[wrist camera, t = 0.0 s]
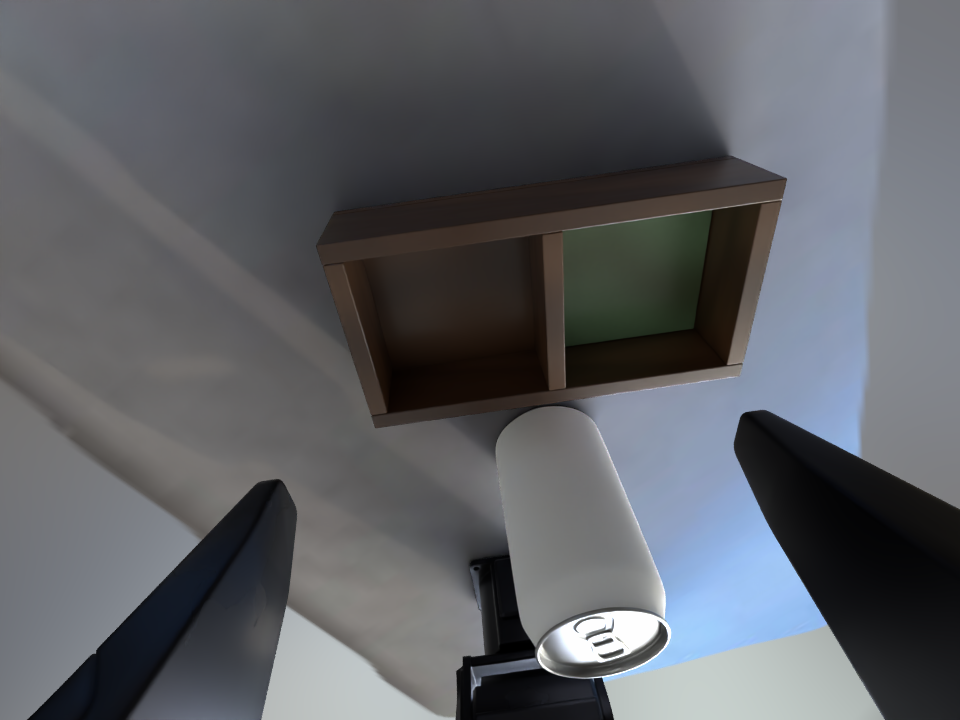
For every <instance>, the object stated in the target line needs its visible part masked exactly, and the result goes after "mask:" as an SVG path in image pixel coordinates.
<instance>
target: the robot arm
mask: <svg viewBox="0 0 960 720" xmlns="http://www.w3.org/2000/svg"><path fill="white" fill-rule="evenodd" d="M734 451H735V454H736V457H737V459H738V461H739V463H740V465H741V467H742V470H743V472H744V474H745V476H746V478H747V480H748V483H749V485H750V487H751V489H752V491H753V493H754V496H755V498H756V500H757V502H758V504H759V506H760V509H761V511H762V513H763V515H764V517H765V519H766V521H767V523H768V525H769V527H770V528H771V530H772V532H773V534H774V536H775V537H776V539H777V541H778V542H779V544H780V546H781V547H782V549H783V551H784V552H785V554H786V556H787V557H788V559H789V561H790V562H791V564H792V566H793V567H794V569H795V571H796V572H797V574H798V576H799V577H800V579H801V581H802V582H803V584H804V586H805V587H806V589H807V591H808V592H809V594H810V596H811V597H812V599H813V601H814V602H815V604H816V606H817V607H818V609H819V611H820V612H821V614H822V616H823V617H824V619H825V621H826V622H827V624H828V626H829V627H830V629H831V631H832V632H833V634H834V636H835V637H836V639H837V641H838V642H839V644H840V646H841V647H842V649H843V651H844V652H845V654H846V656H847V657H848V659H849V661H850V662H851V664H852V666H853V668H854V669H855V671H856V673H857V674H858V676H859V678H860V679H861V681H862V682H863V684H864V686H865V687H866V689H867V691H868V692H869V694H870V696H871V698H872V699H873V701H874V702H875V704H876V706H877V708H878V709H879V711H880V713H881V714H882V716H883V717H884V719H885V720H960V509H958V508H956V507H954V506H952V505H950V504H948V503H946V502H944V501H942V500H941V499H939V498H936V497H935V496H933V495H931V494H929V493H927V492H925V491H923V490H921V489H919V488H917V487H915V486H913V485H911V484H909V483H907V482H905V481H904V480H901V479H900V478H898V477H896V476H894V475H892V474H890V473H888V472H886V471H884V470H882V469H880V468H878V467H876V466H874V465H872V464H870V463H868V462H867V461H865V460H863V459H861V458H859V457H857V456H855V455H853V454H851V453H849V452H847V451H845V450H843V449H841V448H839V447H837V446H835V445H833V444H831V443H829V442H828V441H826V440H824V439H822V438H820V437H818V436H816V435H814V434H812V433H810V432H808V431H806V430H804V429H802V428H800V427H798V426H796V425H794V424H792V423H790V422H789V421H787V420H785V419H783V418H781V417H779V416H777V415H775V414H773V413H771V412H769V411H766V410H758V411H751V412H745V413H743V414H742V416H741V417H740V420H739V424H738V428H737V432H736V436H735V440H734ZM296 521H297V510H296V506H295V504H294V502H293V500H292V498H291V496H290V494H289V492H288V490H287V488H286V486H285V484H284V483H283V482H282V481H281V480H280V479H274V480H267V481H261V482H259V483H257V484H256V485H255V486H254V487H253V488H252V489H251V490H250V491H249V492H248V493H247V494H246V495H245V496H244V497H243V498H242V499H241V500H240V501H239V502H238V503H237V504H236V505H235V506H234V507H233V509H232V510H231V511H230V512H229V513H228V514H227V515H226V516H225V517H224V518H223V519H222V520H221V521H220V522H219V523H218V524H217V525H216V526H215V527H214V528H213V529H212V530H211V531H210V532H209V533H208V534H207V536H206V537H205V538H204V539H203V540H202V541H201V542H200V543H199V544H198V545H197V546H196V547H195V548H194V549H193V550H192V551H191V552H190V553H189V554H188V555H187V556H186V557H185V559H183V561H181V563H180V564H179V565H178V566H177V567H176V568H175V569H174V570H173V571H172V572H171V573H170V574H169V575H168V576H167V577H166V578H165V579H164V580H163V581H162V582H161V583H160V584H159V586H157V587H156V589H155V590H154V591H153V592H152V593H151V594H150V595H149V596H148V597H147V598H146V599H145V600H144V601H143V602H142V603H141V604H140V605H139V606H138V607H137V608H136V609H135V610H134V611H133V612H132V613H131V614H130V616H128V617H127V619H126V620H125V621H124V622H123V623H122V624H121V625H120V626H119V627H118V628H117V629H116V630H115V631H114V632H113V633H112V634H111V635H110V636H109V637H108V638H107V639H106V640H105V641H104V642H103V643H102V644H101V646H100V647H99V648H98V649H97V650H96V654H92V655H91V656H90V657H89V658H88V659H87V660H86V661H85V662H84V663H83V664H82V665H81V666H80V667H79V668H78V669H77V670H76V671H75V672H74V673H73V674H72V675H71V676H70V677H69V678H68V680H67V681H65V683H63V685H62V686H61V687H60V688H59V689H58V690H57V691H56V692H55V693H54V694H53V695H52V696H51V697H50V698H49V699H48V700H47V701H46V702H45V703H44V704H43V705H42V706H41V707H40V708H39V709H38V710H37V711H36V712H35V713H34V714H33V715H32V716H30V718H29V719H27V720H261V718H262V713H263V709H264V704H265V700H266V695H267V691H268V686H269V681H270V677H271V672H272V668H273V663H274V659H275V654H276V650H277V645H278V641H279V636H280V631H281V626H282V622H283V617H284V613H285V609H286V604H287V599H288V593H289V586H290V578H291V568H292V559H293V550H294V540H295V531H296ZM469 566H470V573H471V577H472V582H473V586H474V591H475V595H476V600H477V604H478V609H479V610H480V611H481V614H482V626H483V637H484V649H485V655H482V656H475V657H471V656H464V657H463V666H462V667H461V668H460V669H458V670H457V671H456V675H457V708H456V720H614V718H613V714H612V709H611V706H610V702H609V698H608V695H607V692H606V689H605V685H604V682H603V679H602V677H599V678H584V679H581V678H568V677H562V676H558V675H555V674H552V673H550V672H548V671H546V670H545V669H543V668H542V667H541V666H540V665H539V664H538V662H537V660H536V657H535V649H536V647H535V646H534V644H533V643H532V641H531V640H530V638H529V637H528V635H527V634H526V632H525V630H524V628H523V626H522V623H521V620H520V616H519V610H518V605H517V598H516V592H515V586H514V579H513V572H512V566H511V559H510V555H505V556H498V557H491V558H484V559H477V560H473V561H471V562H470V564H469Z"/></svg>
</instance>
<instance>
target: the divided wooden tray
mask: <svg viewBox="0 0 960 720" xmlns="http://www.w3.org/2000/svg"><path fill="white" fill-rule="evenodd" d="M786 181H787V178H784V177H782V176H780V175H777V174H775V173H772V172H770V171H767V170H765V169H763V168H760V167H758V166H755V165H753V164H750V163H748V162H746V161H743V160H741V159H738V158H736V157H733V156H726V157H719V158H712V159H705V160H698V161H690V162H683V163H676V164H669V165H662V166H655V167H648V168H641V169H634V170H627V171H620V172H613V173H606V174H599V175H592V176H585V177H578V178H571V179H563V180H556V181H549V182H542V183H535V184H528V185H521V186H514V187H507V188H500V189H493V190H486V191H479V192H472V193H465V194H458V195H451V196H444V197H437V198H429V199H422V200H415V201H408V202H401V203H394V204H387V205H380V206H373V207H366V208H359V209H352V210H345V211H338V212H334V214H333V216H332V217H331V219H330V221H329V223H328V225H327V226H326V228H325V230H324V232H323V234H322V235H321V237H320V239H319V241H318V243H317V245H316V247H317V250H318V254H319V257H320V260H321V263H322V265H323V268H324V271H325V274H326V277H327V280H328V284H329V287H330V290H331V293H332V296H333V299H334V302H335V305H336V308H337V311H338V314H339V317H340V321H341V324H342V327H343V330H344V333H345V336H346V339H347V342H348V345H349V348H350V351H351V355H352V358H353V361H354V364H355V367H356V370H357V373H358V376H359V379H360V382H361V385H362V389H363V392H364V395H365V398H366V401H367V404H368V407H369V410H370V413H371V415H372V416H371V417H372V420H373V423H374V426H375V428H381V427H388V426H395V425H402V424H409V423H416V422H423V421H430V420H437V419H444V418H451V417H458V416H465V415H472V414H480V413H487V412H494V411H501V410H508V409H515V408H522V407H529V406H536V405H543V404H550V403H557V402H564V401H571V400H578V399H585V398H592V397H599V396H606V395H613V394H620V393H627V392H634V391H641V390H648V389H655V388H662V387H669V386H676V385H683V384H690V383H697V382H704V381H711V380H718V379H725V378H732V377H739V376H740V374H741V369H742V365H743V362H744V358H745V353H746V349H747V345H748V341H749V337H750V332H751V328H752V324H753V320H754V316H755V311H756V307H757V303H758V299H759V295H760V291H761V286H762V282H763V278H764V274H765V270H766V265H767V261H768V257H769V253H770V249H771V244H772V240H773V236H774V232H775V228H776V223H777V219H778V215H779V211H780V207H781V202H782V201H781V200H782V198H783V194H784V190H785V186H786Z"/></svg>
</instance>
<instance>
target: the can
mask: <svg viewBox="0 0 960 720" xmlns="http://www.w3.org/2000/svg"><path fill="white" fill-rule="evenodd" d="M496 462H497V470H498V477H499V484H500V491H501V498H502V505H503V512H504V519H505V525H506V532H507V539H508V546H509V552H510V559H511V566H512V572H513V579H514V586H515V592H516V598H517V605H518V610H519V616H520V620H521V623H522V626H523V628H524V630H525V632H526V634H527V635H528V637H529V638H530V640H531V641H532V643H533V644H534V646H535V647H536V649H535V657H536V660H537V662H538V664H539V665H540V666H541V667H542V668H543V669H545V670H546V671H548V672H550V673H552V674H555V675H558V676H562V677H568V678H581V679H584V678H599V677H605V676H611V675H615V674H619V673H622V672H626V671H629V670H631V669H634V668H636V667H639V666H641V665H643V664H645V663H646V662H648V661H650V660H651V659H653V658H654V657H656V656H657V655H658V654H659V653H660V652H661V651H662V650H663V649H664V648H665V647H666V646H667V644H668V642H669V640H670V636H671V631H670V627H669V625H668V623H667V622H666V620H665V602H666V598H665V590H664V587H663V584H662V581H661V578H660V576H659V573H658V571H657V568H656V566H655V563H654V561H653V558H652V556H651V553H650V551H649V548H648V546H647V544H646V541H645V539H644V536H643V534H642V532H641V529H640V527H639V524H638V522H637V519H636V517H635V515H634V512H633V510H632V507H631V505H630V503H629V500H628V498H627V495H626V493H625V491H624V488H623V486H622V483H621V481H620V479H619V476H618V474H617V472H616V469H615V467H614V464H613V462H612V460H611V457H610V455H609V453H608V450H607V448H606V446H605V443H604V441H603V439H602V436H601V434H600V432H599V430H598V428H597V426H596V424H595V423H594V421H593V420H592V419H591V418H590V417H589V416H587V415H586V414H584V413H582V412H581V411H578V410H576V409H572V408H568V407H562V406H543V407H538V408H535V409H532V410H530V411H527V412H525V413H524V414H522V415H520V416H519V417H517V418H516V419H514V420H513V421H512V422H511V423H509V424H508V425H507V426H506V427H505V428H504V430H503V431H502V432H501V434H500V436H499V438H498V440H497V443H496Z"/></svg>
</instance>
